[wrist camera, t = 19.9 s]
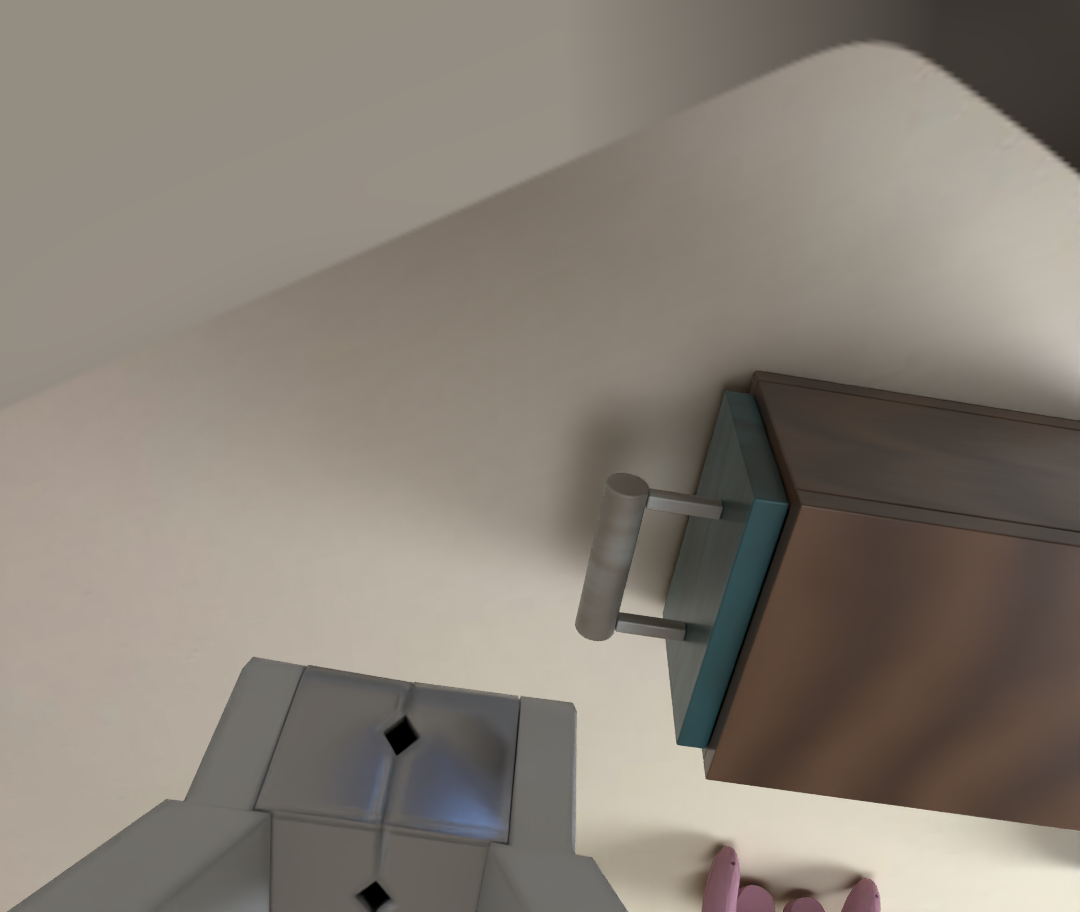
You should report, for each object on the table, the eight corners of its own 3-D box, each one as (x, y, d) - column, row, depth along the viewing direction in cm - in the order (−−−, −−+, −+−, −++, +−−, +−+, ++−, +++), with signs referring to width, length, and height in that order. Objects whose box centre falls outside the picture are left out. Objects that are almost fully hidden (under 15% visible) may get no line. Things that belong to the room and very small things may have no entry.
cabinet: (683, 613, 45) (705, 779, 37) (754, 369, 39) (801, 504, 30) (1009, 660, 46) (1103, 834, 38) (1133, 429, 40) (1281, 576, 31)
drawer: (567, 599, 44) (563, 729, 37) (615, 372, 38) (622, 478, 31) (971, 658, 45) (1040, 796, 38) (1079, 444, 39) (1184, 563, 32)
